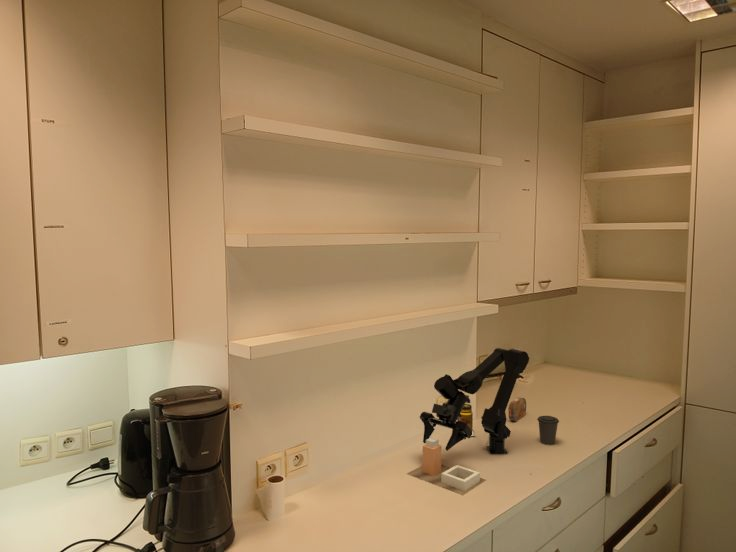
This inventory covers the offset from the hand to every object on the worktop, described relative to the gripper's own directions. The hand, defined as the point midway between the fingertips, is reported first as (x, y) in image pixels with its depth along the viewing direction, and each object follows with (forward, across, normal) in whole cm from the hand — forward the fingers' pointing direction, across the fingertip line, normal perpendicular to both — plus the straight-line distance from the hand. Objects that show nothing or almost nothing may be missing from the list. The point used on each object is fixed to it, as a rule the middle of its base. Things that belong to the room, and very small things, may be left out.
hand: (434, 446), depth 181 cm
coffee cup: (-30, +16, +43) cm, 55 cm away
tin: (-43, -6, +56) cm, 71 cm away
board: (+8, +6, +6) cm, 11 cm away
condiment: (-21, -13, +34) cm, 42 cm away
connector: (+7, 0, +5) cm, 8 cm away
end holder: (+7, +11, +5) cm, 14 cm away
